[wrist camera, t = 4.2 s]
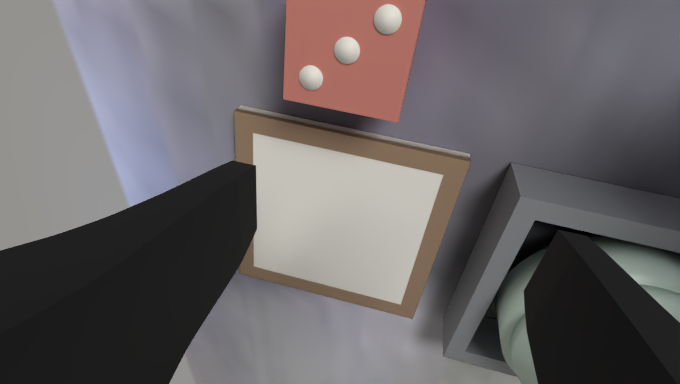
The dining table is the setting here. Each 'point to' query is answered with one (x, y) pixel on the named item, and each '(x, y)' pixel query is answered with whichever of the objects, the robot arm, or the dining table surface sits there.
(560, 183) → the grey square tray
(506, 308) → the dome
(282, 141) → the board
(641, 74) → the dining table surface
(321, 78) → the small die
